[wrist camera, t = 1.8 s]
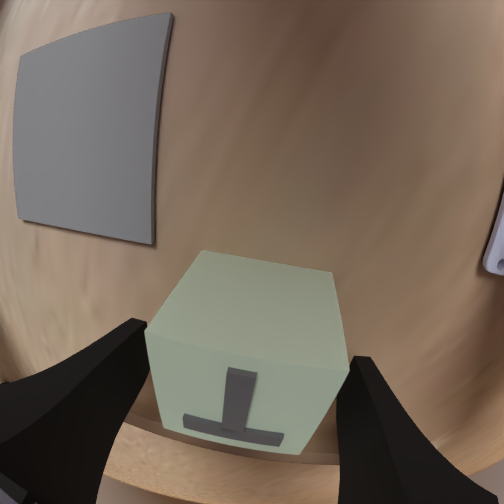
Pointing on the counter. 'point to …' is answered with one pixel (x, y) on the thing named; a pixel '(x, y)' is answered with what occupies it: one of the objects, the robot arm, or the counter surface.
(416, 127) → the counter surface
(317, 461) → the walnut plank
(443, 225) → the counter surface
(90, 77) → the grey display pad
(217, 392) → the letter cube
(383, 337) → the counter surface
